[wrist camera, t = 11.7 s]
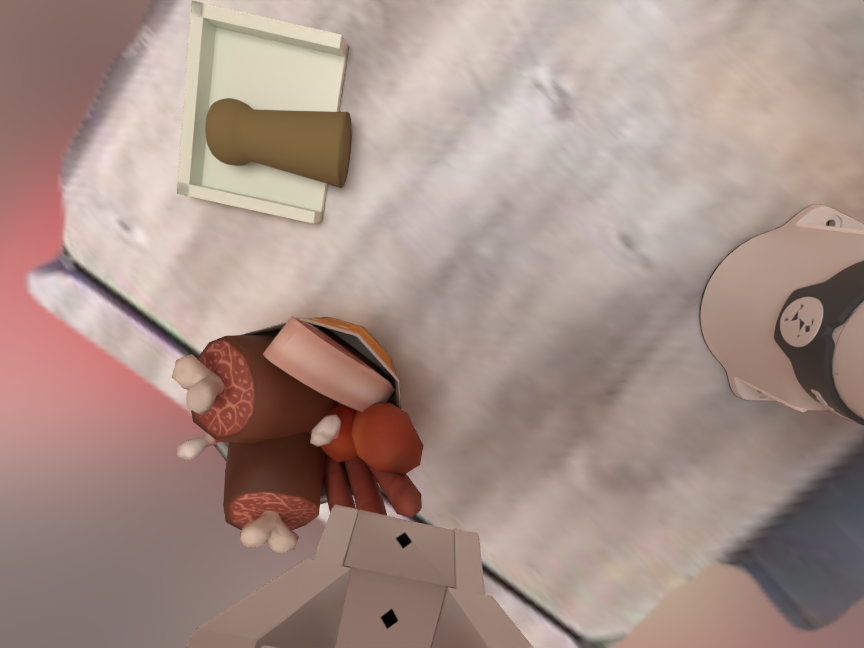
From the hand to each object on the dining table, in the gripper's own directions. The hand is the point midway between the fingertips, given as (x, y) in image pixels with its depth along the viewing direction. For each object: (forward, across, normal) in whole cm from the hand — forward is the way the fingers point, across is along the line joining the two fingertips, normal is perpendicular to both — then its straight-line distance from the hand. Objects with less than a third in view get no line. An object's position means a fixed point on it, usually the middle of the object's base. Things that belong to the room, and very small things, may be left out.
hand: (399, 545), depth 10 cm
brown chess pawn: (+34, +10, -9) cm, 37 cm away
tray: (+37, +17, -10) cm, 42 cm away
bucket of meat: (+37, +8, +12) cm, 40 cm away
